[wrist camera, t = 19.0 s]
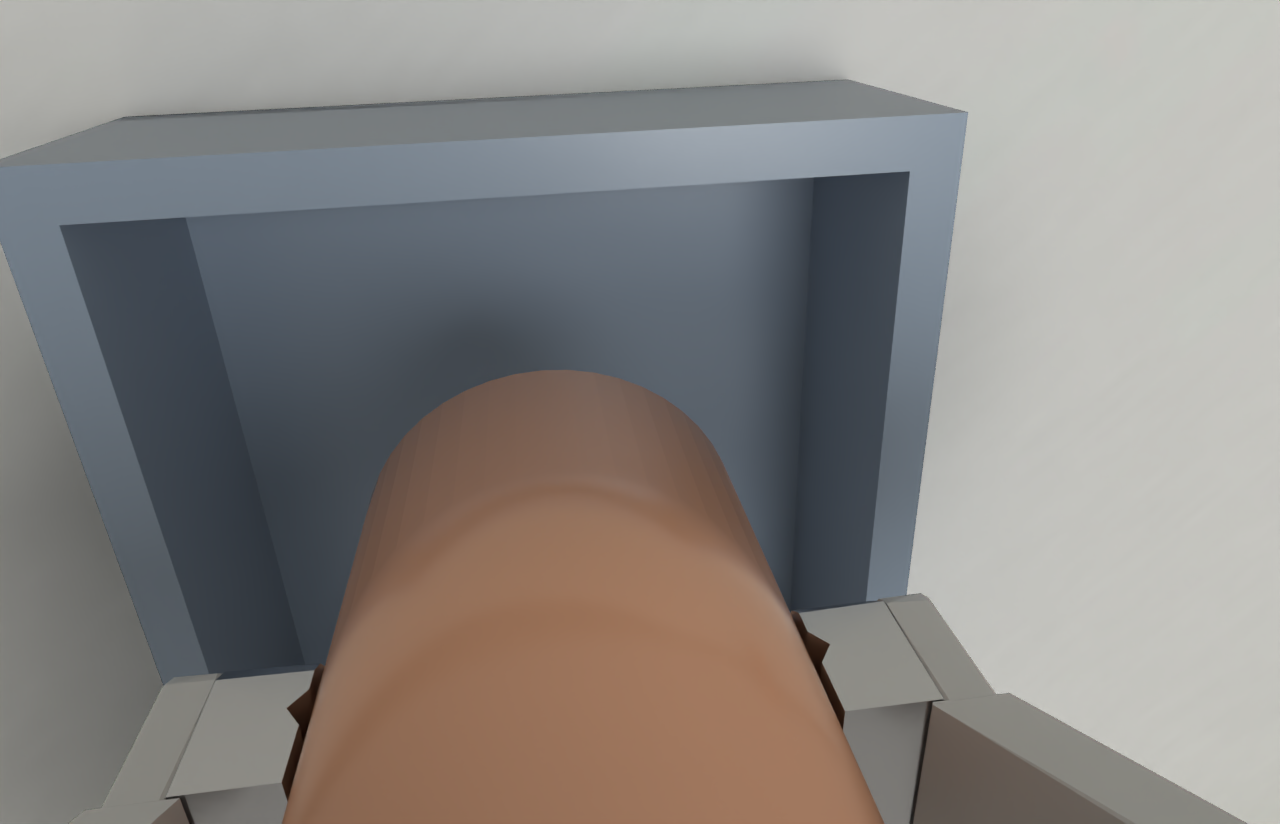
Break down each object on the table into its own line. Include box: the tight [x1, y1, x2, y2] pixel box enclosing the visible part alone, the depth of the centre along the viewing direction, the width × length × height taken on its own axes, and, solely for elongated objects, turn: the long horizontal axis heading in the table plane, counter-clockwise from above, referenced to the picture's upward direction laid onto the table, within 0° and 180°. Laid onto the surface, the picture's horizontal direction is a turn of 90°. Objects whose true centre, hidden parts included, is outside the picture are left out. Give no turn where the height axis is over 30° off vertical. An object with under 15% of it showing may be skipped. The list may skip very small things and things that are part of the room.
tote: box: [0, 80, 968, 685], centre depth 18 cm, size 18×14×5 cm
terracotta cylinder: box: [282, 370, 884, 824], centre depth 9 cm, size 5×5×7 cm
